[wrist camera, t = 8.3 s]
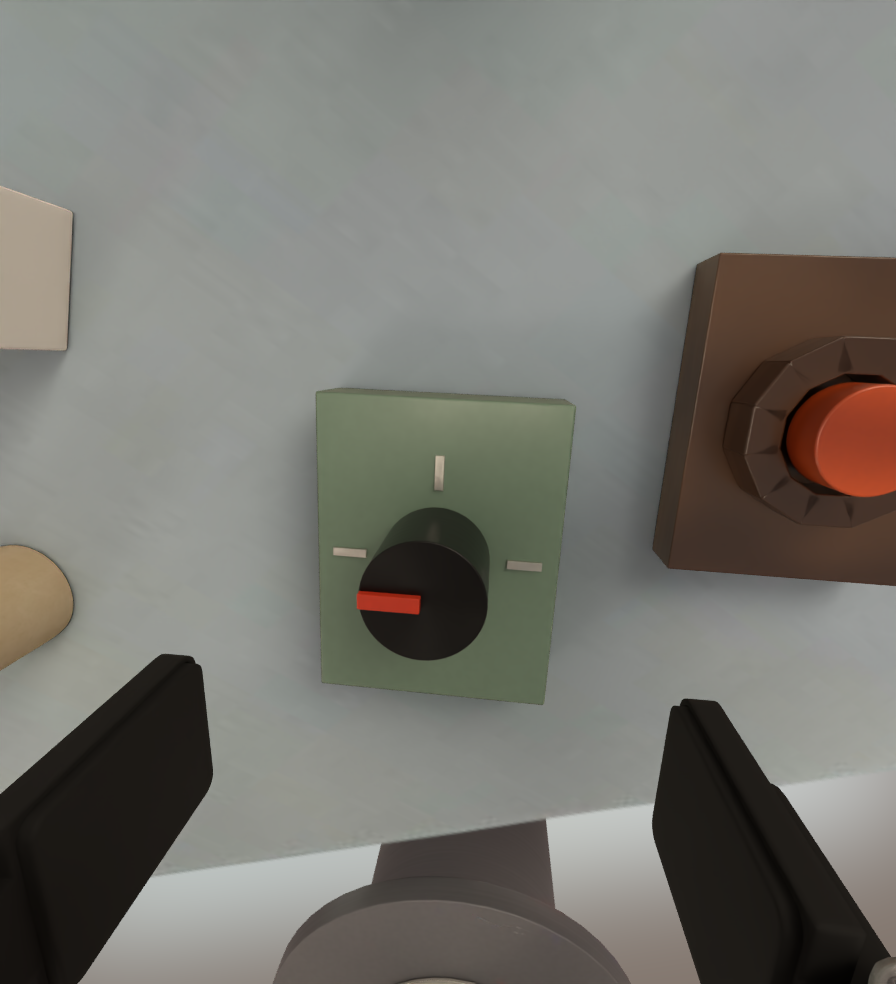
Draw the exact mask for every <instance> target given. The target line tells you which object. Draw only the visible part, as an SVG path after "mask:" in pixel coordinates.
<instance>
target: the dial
mask: <svg viewBox="0 0 896 984" xmlns="http://www.w3.org/2000/svg"><path fill="white" fill-rule="evenodd" d="M489 568H490V555H489V549H488V546H487V542H486V540H485V538H484V536H483V534H482V533H481V531H480V530H479V529H478V527H477V526H476V525H475V524H474V523H473V522H472V521H471V520H469V519H468V518H467V517H465V516H463V515H462V514H460V513H458V512H455V511H453V510H449V509H445V508H438V507H430V508H423V509H419V510H416V511H413V512H411V513H409V514H407V515H406V516H404V517H403V518H401V519H400V520H399V521H398V522H397V523H396V524H395V525H394V526H393V528H392V529H391V530H390V532H389V533H388V535H387V536H386V538H385V540H384V541H383V543H382V544H381V546H380V547H379V549H378V551H377V552H376V554H375V555H374V557H373V558H372V560H371V561H370V563H369V565H368V566H367V568H366V570H365V571H364V573H363V575H362V578H361V581H360V585H359V589H358V593H357V609H360V613H361V616H362V619H363V621H364V623H365V625H366V627H367V629H368V630H369V632H370V633H371V634H372V636H373V637H374V638H375V639H376V640H377V641H378V642H379V643H380V644H381V645H383V646H384V647H385V648H387V649H388V650H390V651H392V652H394V653H395V654H398V655H400V656H403V657H406V658H409V659H414V660H421V661H432V660H439V659H444V658H447V657H450V656H453V655H455V654H457V653H459V652H460V651H462V650H463V649H465V648H466V647H468V646H469V645H470V644H471V643H472V642H473V641H474V640H475V639H476V637H477V636H478V634H479V633H480V631H481V630H482V628H483V625H484V623H485V620H486V616H487V610H488V591H489Z"/></svg>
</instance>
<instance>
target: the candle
mask: <svg viewBox="0 0 896 984" xmlns="http://www.w3.org/2000/svg"><path fill="white" fill-rule="evenodd" d="M72 612H73V597H72V592H71V589H70V586H69V584H68V582H67V580H66V578H65V576H64V575H63V573H62V572H61V571H60V569H59V568H58V567H57V566H56V565H55V564H54V563H53V562H52V561H51V560H50V559H48V558H47V557H46V556H44V555H43V554H41V553H39V552H37V551H35V550H33V549H30V548H27V547H24V546H17V545H8V546H2V547H0V671H1V670H2V669H4V668H5V667H7V666H9V665H10V664H12V663H13V662H15V661H17V660H18V659H20V658H22V657H23V656H25V655H26V654H28V653H30V652H31V651H33V650H35V649H36V648H38V647H39V646H41V645H43V644H44V643H46V642H47V641H49V640H50V639H52V638H53V637H55V636H56V635H58V634H59V633H60V632H61V631H62V630H63V629H64V628H65V627H66V626H67V624H68V623H69V621H70V619H71V616H72Z"/></svg>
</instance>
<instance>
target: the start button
mask: <svg viewBox="0 0 896 984" xmlns="http://www.w3.org/2000/svg"><path fill="white" fill-rule="evenodd" d="M786 446H787V452H788V456H789V459H790V461H791V463H792V465H793V466H794V467H795V469H796V470H797V471H798V472H799V473H800V474H801V475H802V476H804V477H805V478H807V479H808V480H810V481H812V482H815V483H817V484H820V485H822V486H825V487H828V488H830V489H833V490H836V491H838V492H841V493H844V494H846V495H850V496H856V497H874V496H880V495H884V494H887V493H890V492H893V491H895V490H896V385H893V384H878V383H860V382H846V383H840V384H836V385H832V386H829V387H827V388H825V389H823V390H821V391H819V392H817V393H816V394H814V395H813V396H811V397H810V398H809V399H808V400H806V401H805V402H804V403H803V404H802V405H801V407H800V408H799V409H798V410H797V412H796V413H795V415H794V417H793V418H792V420H791V423H790V425H789V428H788V432H787V438H786Z"/></svg>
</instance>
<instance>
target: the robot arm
mask: <svg viewBox="0 0 896 984" xmlns="http://www.w3.org/2000/svg"><path fill="white" fill-rule="evenodd" d="M212 777H213V766H212V757H211V748H210V738H209V729H208V720H207V711H206V701H205V692H204V683H203V674H202V668H201V666H200V665H198V664H196V663H195V660H194V659H193V657H191V656H184V655H173V654H161V655H160V656H158V657H157V658H155V659H154V660H153V661H152V662H151V663H150V664H149V665H147V666H146V667H145V668H144V669H143V670H142V671H141V672H139V673H138V674H137V675H136V676H135V677H134V678H133V679H131V680H130V681H129V682H128V683H127V684H126V685H125V686H123V687H122V688H121V689H120V690H119V691H118V692H117V693H115V694H114V695H113V696H112V697H111V698H110V699H109V700H107V701H106V702H105V703H104V704H103V705H102V706H101V707H99V708H98V709H97V710H96V711H95V712H94V713H93V714H91V715H90V716H89V717H88V718H87V719H86V720H85V721H83V722H82V723H81V724H80V725H79V726H78V727H77V728H75V729H74V730H73V731H72V732H71V733H70V734H69V735H67V736H66V737H65V738H64V739H63V740H62V741H61V742H59V743H58V744H57V745H56V746H55V747H54V748H53V749H51V750H50V751H49V752H48V753H47V754H46V755H45V756H43V757H42V758H41V759H40V760H39V761H38V762H37V763H35V764H34V765H33V766H32V767H31V768H30V769H29V770H27V771H26V772H25V773H24V774H23V775H22V776H21V777H19V778H18V779H17V780H16V781H15V782H14V783H13V784H11V785H10V786H9V787H8V788H7V789H6V790H5V791H3V792H2V793H1V794H0V984H77V983H78V982H79V981H80V980H81V979H82V978H83V976H84V975H85V974H86V972H87V971H88V969H89V968H90V966H91V965H92V963H93V962H94V960H95V958H96V957H97V956H98V954H99V953H100V951H101V950H102V948H103V947H104V945H105V944H106V942H107V940H108V939H109V938H110V936H111V935H112V933H113V932H114V930H115V929H116V927H117V926H118V924H119V923H120V921H121V920H122V918H123V917H124V915H125V914H126V912H127V911H128V909H129V908H130V906H131V905H132V904H133V902H134V901H135V899H136V898H137V896H138V894H139V893H140V892H141V890H142V889H143V887H144V886H145V884H146V883H147V881H148V880H149V878H150V877H151V875H152V874H153V872H154V871H155V869H156V868H157V866H158V865H159V863H160V862H161V860H162V859H163V857H164V856H165V854H166V853H167V851H168V850H169V848H170V847H171V845H172V844H173V842H174V841H175V839H176V838H177V836H178V835H179V833H180V832H181V831H182V829H183V828H184V826H185V825H186V823H187V822H188V820H189V819H190V817H191V816H192V814H193V813H194V811H195V810H196V808H197V807H198V805H199V804H200V802H201V801H202V799H203V798H204V796H205V795H206V793H207V791H208V790H209V787H210V785H211V782H212ZM652 829H653V836H654V840H655V844H656V847H657V850H658V853H659V856H660V859H661V862H662V865H663V869H664V872H665V875H666V878H667V881H668V884H669V887H670V890H671V893H672V896H673V900H674V903H675V906H676V909H677V912H678V915H679V918H680V921H681V924H682V927H683V931H684V934H685V936H686V939H687V943H688V946H689V949H690V952H691V955H692V958H693V961H694V965H695V968H696V971H697V974H698V977H699V980H700V983H701V984H896V957H891V956H890V954H889V953H888V951H887V950H886V948H885V947H884V945H883V944H882V942H881V941H880V939H879V938H878V936H877V935H876V933H875V932H874V930H873V929H872V927H871V925H870V924H869V922H868V921H867V920H866V918H865V916H864V915H863V913H862V912H861V910H860V909H859V907H858V906H857V904H856V903H855V901H854V900H853V898H852V897H851V895H850V894H849V892H848V890H847V889H846V888H845V886H844V884H843V883H842V881H841V880H840V878H839V877H838V875H837V874H836V872H835V871H834V869H833V868H832V866H831V865H830V863H829V861H828V860H827V858H826V857H825V855H824V854H823V853H822V851H821V850H820V848H819V846H818V845H817V843H816V842H815V840H814V839H813V837H812V836H811V834H810V833H809V831H808V830H807V828H806V827H805V825H804V824H803V822H802V820H801V819H800V817H799V816H798V814H797V813H796V811H795V810H794V808H793V807H792V805H791V804H790V802H789V801H788V799H787V798H786V796H785V795H784V794H783V792H782V791H781V790H780V789H779V788H778V787H777V786H775V785H773V784H770V782H769V781H768V779H767V778H766V776H765V775H764V773H763V771H762V770H761V768H760V767H759V765H758V764H757V762H756V760H755V759H754V757H753V756H752V754H751V753H750V751H749V749H748V748H747V746H746V745H745V743H744V742H743V740H742V739H741V737H740V735H739V734H738V732H737V731H736V729H735V728H734V726H733V724H732V723H731V721H730V720H729V718H728V717H727V715H726V714H725V712H724V710H723V709H722V707H721V706H720V705H719V703H718V702H716V701H709V700H697V699H683V700H682V702H681V704H680V706H673V707H672V708H671V711H670V716H669V722H668V728H667V734H666V740H665V746H664V752H663V758H662V764H661V770H660V776H659V782H658V788H657V793H656V799H655V805H654V811H653V818H652ZM398 984H477V983H474V982H471V981H465V980H460V979H454V978H439V977H430V978H421V979H413V980H410V981H406V982H402V983H398Z"/></svg>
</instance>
